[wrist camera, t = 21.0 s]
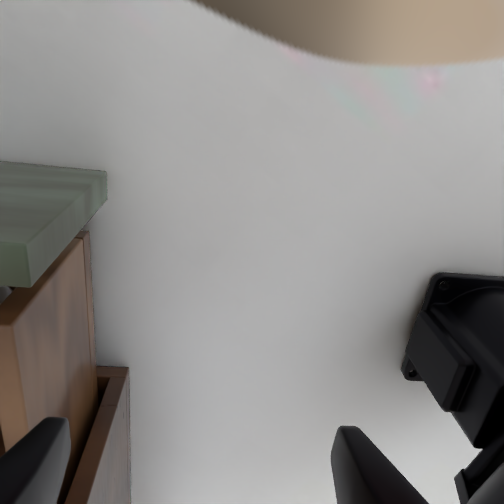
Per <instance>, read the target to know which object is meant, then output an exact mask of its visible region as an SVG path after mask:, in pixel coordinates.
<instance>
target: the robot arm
mask: <svg viewBox="0 0 504 504" xmlns="http://www.w3.org/2000/svg"><path fill="white" fill-rule="evenodd" d="M443 281H445V283H444V284H443V285H441V286H439V285H440V283H441V282H443ZM411 370H413V371H412V372H410V371H411ZM401 372H402V374H403V375H404V377H405V378H406V379H407V380H410V381H424V382H425V384H426V385H427V387H428V388H429V390H430V391H431V393H432V395H433V396H434V398H435V399H436V401H437V402H438V404H439V406H440V407H441V408H442V409H443V411H445V412H451V413H452V415H453V416H454V418H455V419H456V421H457V422H458V424H459V425H460V427H461V428H462V430H463V431H464V433H465V434H466V436H467V437H468V439H469V441H470V442H471V444H472V445H473V446H474V448H478V449H482V451H481V452H480V453H479V454H478V455H477V456H476V457H475V459H474V460H473V461H472V462H471V463H470V464H469V465H468V467H467V468H466V469H462V470H461V471H460V472H459V473H458V474H457V475H456V476H455V477H454V480H455V484H456V488H457V492H458V496H459V500H460V504H504V277H497V276H484V275H471V274H457V273H444V272H443V273H438V274H436V275H435V276H434V277H433V278H432V279H431V282H430V285H429V287H428V290H427V293H426V296H425V299H424V302H423V305H422V308H421V311H420V312H419V314H418V315H417V318H416V321H415V324H414V327H413V330H412V333H411V336H410V339H409V342H408V345H407V348H406V356H405V359H404V362H403V365H402V368H401ZM70 451H71V440H70V430H69V421H68V419H67V418H66V417H46V418H44V419H43V420H42V421H41V422H40V423H38V424H37V425H36V426H35V427H34V428H33V429H32V430H31V431H29V432H28V433H27V434H26V435H25V436H24V437H23V438H21V439H20V440H19V441H18V442H17V443H16V444H15V445H14V446H12V447H11V448H10V449H9V450H8V451H7V452H6V453H5V454H3V455H2V456H1V457H0V504H56V503H57V499H58V496H59V492H60V489H61V485H62V482H63V478H64V474H65V471H66V467H67V464H68V460H69V457H70ZM331 466H332V472H333V479H334V485H335V492H336V498H337V504H429V503H428V502H427V501H426V500H425V499H424V498H423V497H422V496H421V495H420V493H419V492H418V491H417V490H416V489H415V488H414V487H413V486H412V485H411V484H410V483H409V482H408V480H407V479H406V478H405V477H404V476H403V475H402V474H401V473H400V472H399V471H398V470H397V469H396V467H395V466H394V465H393V464H392V463H391V462H390V461H389V460H388V459H387V458H386V457H385V456H384V454H383V453H382V452H381V451H380V450H379V449H378V448H377V447H376V446H375V445H374V444H373V443H372V441H371V440H370V439H369V438H368V437H367V436H366V435H365V434H364V433H363V432H362V431H361V430H360V429H359V428H358V427H356V426H340V427H339V428H338V430H337V432H336V436H335V440H334V443H333V447H332V451H331Z"/></svg>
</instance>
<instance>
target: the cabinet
mask: <svg viewBox="0 0 504 504" xmlns="http://www.w3.org/2000/svg"><path fill="white" fill-rule="evenodd" d="M96 368H97V387H98V405H99V410H98V412H97V415H96V418H95V421H94V423H93V426H92V429H91V432H90V434H89V437H88V440H87V443H86V446H85V448H84V451H83V454H82V457H81V459H80V462H79V465H78V468H77V470H76V473H75V476H74V479H73V481H72V484H71V487H70V490H69V492H68V495H67V498H66V501H65V504H131V475H130V395H129V368H128V367H107V366H96Z"/></svg>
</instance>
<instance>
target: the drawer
mask: <svg viewBox="0 0 504 504" xmlns="http://www.w3.org/2000/svg"><path fill="white" fill-rule="evenodd" d="M106 200H107V176H106V172H105V171H97V170H87V169H77V168H66V167H56V166H45V165H35V164H24V163H14V162H3V161H0V286H9V287H10V288H11V289H12V290H13V291H12V292H11V294H10V295H9V296H8V297H7V298H6V299H5V300H4V301H3V302H2V303H1V304H0V457H1V456H2V455H3V454H5V453H6V452H7V451H8V450H9V449H10V448H11V447H12V446H14V445H15V444H16V443H17V442H18V441H19V440H20V439H21V438H23V437H24V436H25V435H26V434H27V433H28V432H29V431H31V430H32V429H33V428H34V427H35V426H36V425H37V424H38V423H40V422H41V421H42V420H43V419H44V418H46V417H66V418H67V419H68V421H69V430H70V440H71V451H70V457H69V460H68V464H67V467H66V471H65V474H64V478H63V482H62V485H61V489H60V492H59V496H58V499H57V503H56V504H65V501H66V498H67V495H68V492H69V490H70V487H71V484H72V481H73V479H74V476H75V473H76V470H77V468H78V465H79V462H80V459H81V457H82V454H83V451H84V448H85V446H86V443H87V440H88V437H89V434H90V432H91V429H92V426H93V423H94V421H95V418H96V415H97V412H98V410H99V405H98V387H97V368H96V350H95V331H94V313H93V295H92V276H91V258H90V239H89V231H82V230H81V229H82V228H83V227H84V226H85V224H86V223H87V222H88V221H89V220H90V219H91V218H92V216H93V215H94V214H95V213H96V212H97V211H98V209H99V208H100V207H101V206H102V205H103V204H104V203H105V201H106Z"/></svg>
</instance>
